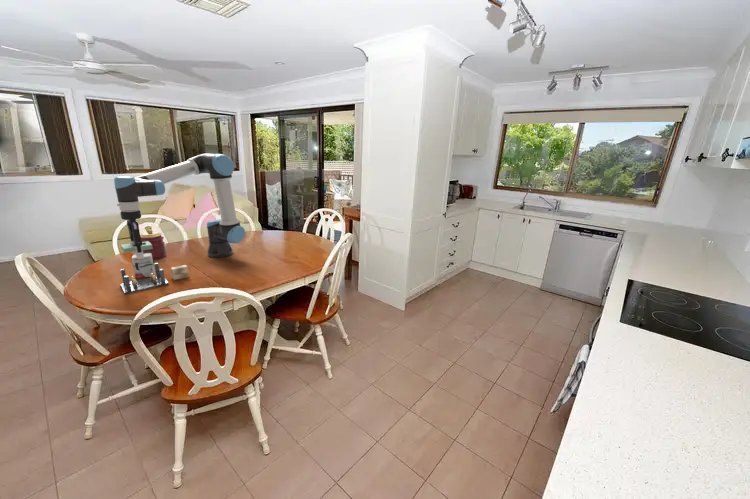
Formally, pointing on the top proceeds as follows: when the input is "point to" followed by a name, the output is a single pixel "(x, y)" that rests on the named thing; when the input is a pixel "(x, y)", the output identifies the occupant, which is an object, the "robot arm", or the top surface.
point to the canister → (154, 244)
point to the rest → (179, 272)
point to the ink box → (143, 265)
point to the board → (130, 247)
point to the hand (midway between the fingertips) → (138, 256)
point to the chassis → (143, 281)
